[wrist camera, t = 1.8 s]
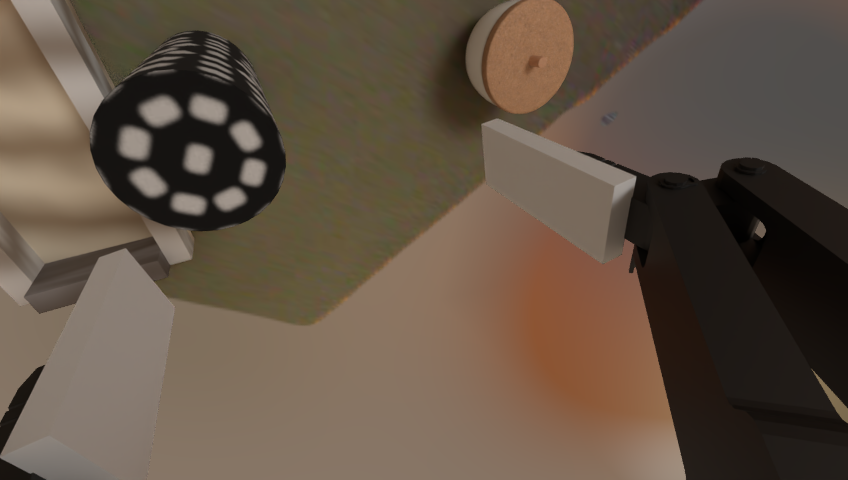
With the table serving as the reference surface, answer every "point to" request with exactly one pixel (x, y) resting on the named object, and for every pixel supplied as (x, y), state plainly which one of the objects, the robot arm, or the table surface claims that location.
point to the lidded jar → (520, 54)
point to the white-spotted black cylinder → (190, 137)
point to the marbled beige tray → (60, 164)
